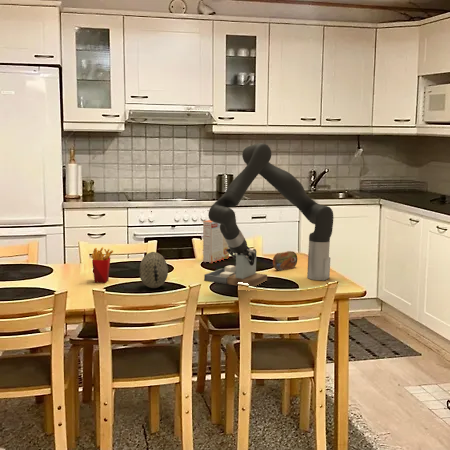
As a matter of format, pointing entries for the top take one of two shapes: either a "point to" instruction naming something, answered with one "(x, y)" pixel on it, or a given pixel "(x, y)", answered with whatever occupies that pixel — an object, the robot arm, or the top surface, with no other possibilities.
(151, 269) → the decorative egg
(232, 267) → the tile
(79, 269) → the top surface
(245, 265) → the grey-blue rectangular block
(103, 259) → the french fries
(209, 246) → the cracker box
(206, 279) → the tray
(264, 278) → the board
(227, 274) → the tile
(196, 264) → the top surface
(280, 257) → the tin
